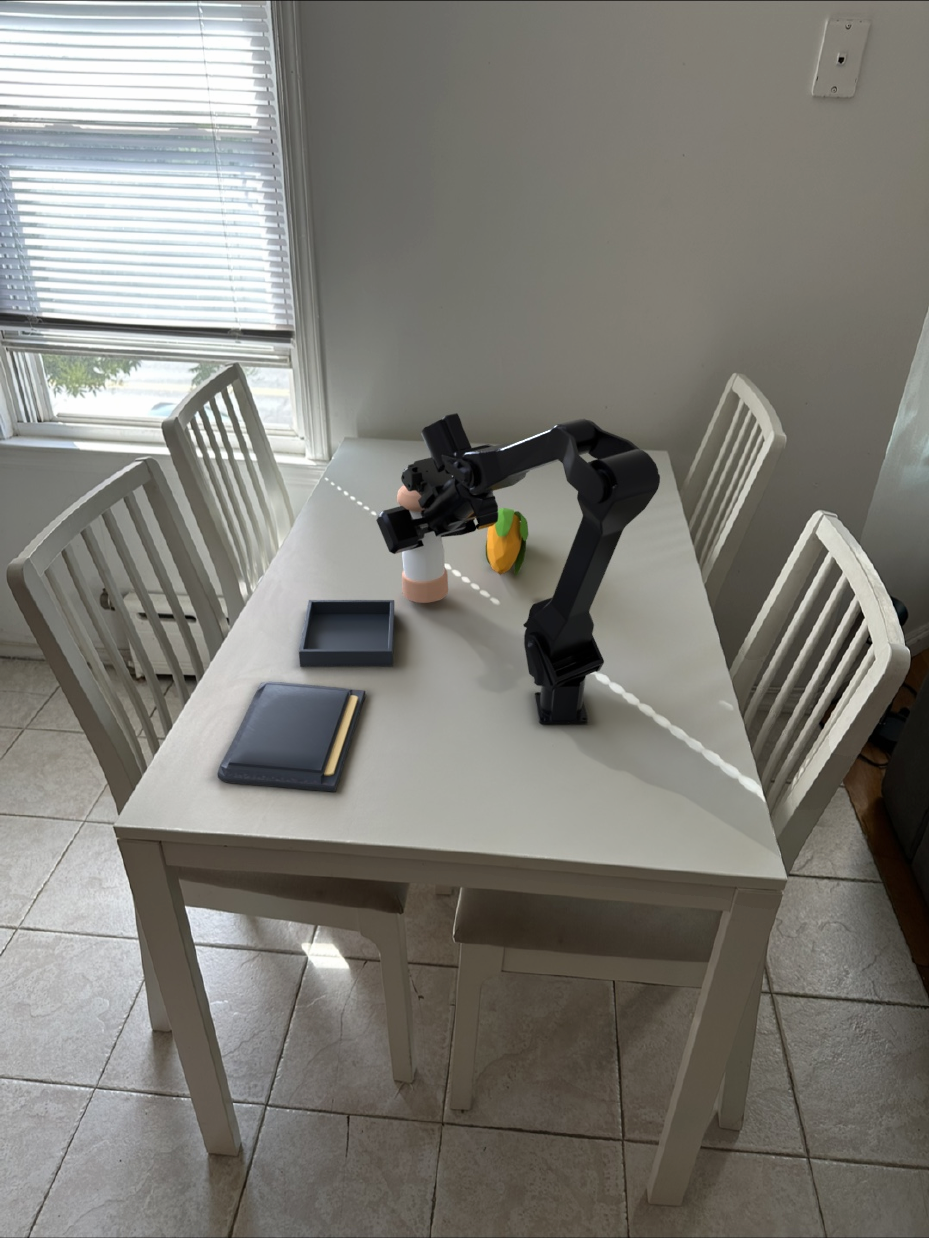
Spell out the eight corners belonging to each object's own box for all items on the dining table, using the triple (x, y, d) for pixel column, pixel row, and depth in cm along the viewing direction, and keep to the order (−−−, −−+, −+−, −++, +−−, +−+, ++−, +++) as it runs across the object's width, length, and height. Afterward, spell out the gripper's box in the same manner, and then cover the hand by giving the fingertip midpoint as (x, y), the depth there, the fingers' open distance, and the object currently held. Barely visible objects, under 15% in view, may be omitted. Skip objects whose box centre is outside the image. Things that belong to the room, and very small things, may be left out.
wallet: (261, 673, 127) (370, 683, 126) (262, 684, 128) (370, 695, 127) (209, 769, 110) (333, 783, 109) (210, 781, 111) (334, 795, 110)
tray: (392, 666, 133) (392, 651, 131) (299, 666, 132) (298, 651, 130) (394, 614, 145) (394, 599, 143) (309, 614, 144) (308, 599, 142)
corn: (529, 497, 164) (525, 549, 147) (529, 535, 168) (526, 590, 151) (487, 497, 165) (479, 549, 148) (489, 535, 169) (481, 590, 152)
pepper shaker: (393, 592, 148) (384, 480, 139) (427, 577, 152) (421, 467, 143) (423, 607, 144) (416, 493, 134) (457, 591, 148) (453, 479, 138)
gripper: (490, 436, 136) (448, 480, 150) (381, 461, 127) (346, 505, 141) (520, 503, 135) (474, 542, 149) (411, 534, 126) (373, 572, 139)
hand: (418, 538), depth 144 cm, fingers closed on pepper shaker, 5 cm apart
